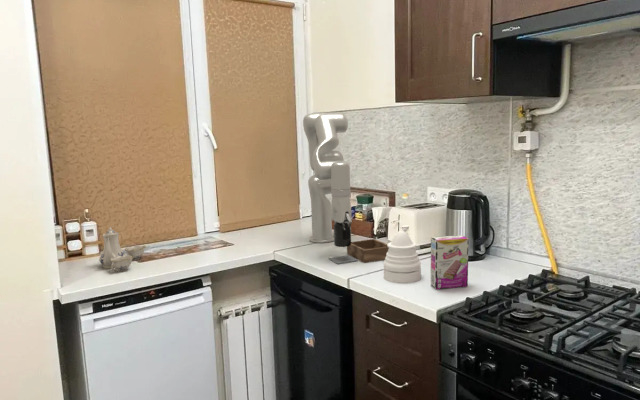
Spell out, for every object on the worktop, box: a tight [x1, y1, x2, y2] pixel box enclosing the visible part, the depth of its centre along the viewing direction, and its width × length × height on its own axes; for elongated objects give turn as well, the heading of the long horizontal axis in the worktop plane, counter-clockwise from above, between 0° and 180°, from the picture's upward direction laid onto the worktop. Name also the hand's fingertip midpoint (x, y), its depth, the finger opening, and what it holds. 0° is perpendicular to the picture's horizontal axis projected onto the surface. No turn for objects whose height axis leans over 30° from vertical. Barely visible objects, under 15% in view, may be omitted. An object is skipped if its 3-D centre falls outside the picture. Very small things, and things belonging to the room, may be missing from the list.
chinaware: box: [98, 226, 147, 272], centre depth 201 cm, size 28×17×17 cm, turn 9°
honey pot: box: [383, 224, 422, 284], centre depth 169 cm, size 13×13×18 cm
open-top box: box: [346, 238, 389, 264], centre depth 200 cm, size 16×13×5 cm
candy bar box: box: [430, 235, 470, 290], centre depth 157 cm, size 11×5×16 cm, turn 99°
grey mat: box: [328, 254, 359, 265], centre depth 196 cm, size 9×9×1 cm
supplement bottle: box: [333, 221, 352, 248], centre depth 194 cm, size 7×7×12 cm
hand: (342, 237), depth 194 cm, fingers closed on supplement bottle, 6 cm apart
